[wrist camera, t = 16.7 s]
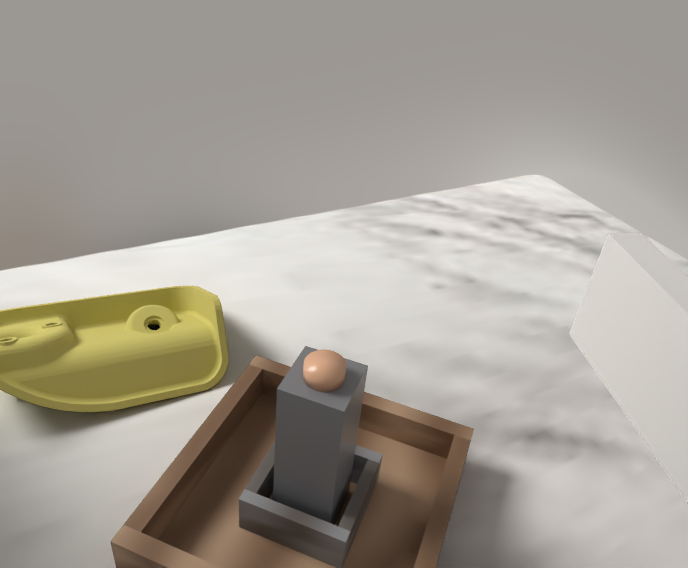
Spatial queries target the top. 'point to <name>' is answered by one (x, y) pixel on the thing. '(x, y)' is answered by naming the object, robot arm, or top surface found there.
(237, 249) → the top surface
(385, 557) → the box
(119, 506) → the top surface
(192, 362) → the plastic component
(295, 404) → the grey tall block
